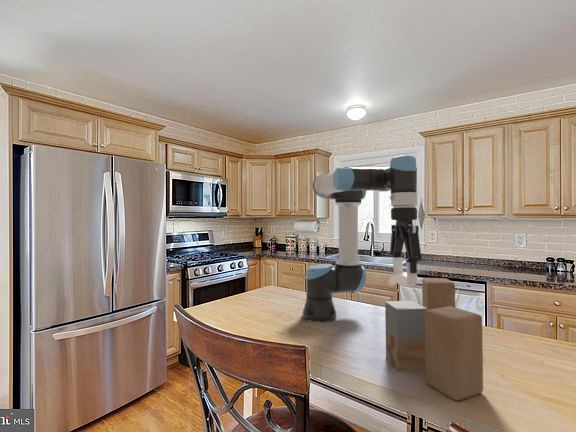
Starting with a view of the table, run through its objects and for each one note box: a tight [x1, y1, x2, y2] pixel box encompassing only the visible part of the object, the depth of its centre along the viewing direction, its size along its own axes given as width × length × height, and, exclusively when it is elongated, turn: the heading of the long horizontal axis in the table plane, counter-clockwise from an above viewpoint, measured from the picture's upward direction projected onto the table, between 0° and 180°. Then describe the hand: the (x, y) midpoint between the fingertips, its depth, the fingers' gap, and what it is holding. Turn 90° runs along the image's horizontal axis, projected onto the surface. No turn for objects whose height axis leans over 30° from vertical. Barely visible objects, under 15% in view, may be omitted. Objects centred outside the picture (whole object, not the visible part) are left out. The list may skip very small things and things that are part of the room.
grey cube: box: [384, 300, 427, 341], centre depth 99 cm, size 9×9×9 cm
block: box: [425, 306, 484, 402], centre depth 84 cm, size 10×10×20 cm
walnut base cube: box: [385, 330, 426, 373], centre depth 99 cm, size 9×9×9 cm
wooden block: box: [421, 277, 456, 310], centre depth 127 cm, size 10×10×20 cm
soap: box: [387, 271, 420, 288], centre depth 99 cm, size 9×7×3 cm
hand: (404, 280), depth 99 cm, fingers closed on soap, 9 cm apart
